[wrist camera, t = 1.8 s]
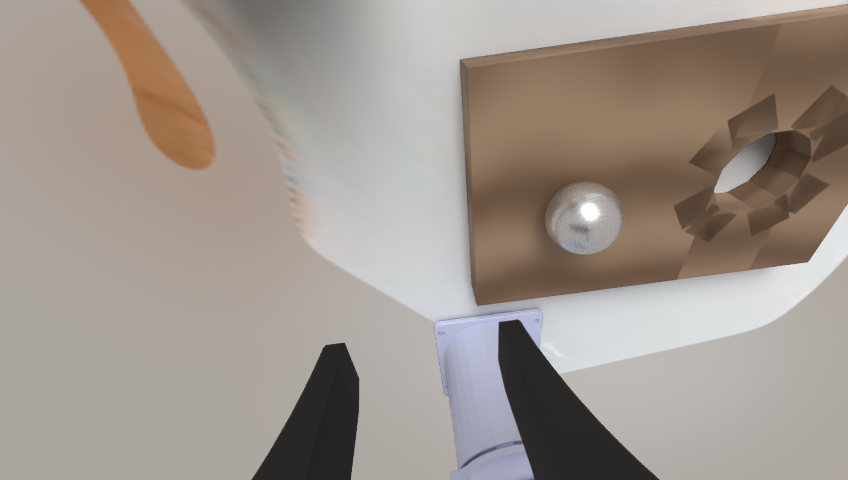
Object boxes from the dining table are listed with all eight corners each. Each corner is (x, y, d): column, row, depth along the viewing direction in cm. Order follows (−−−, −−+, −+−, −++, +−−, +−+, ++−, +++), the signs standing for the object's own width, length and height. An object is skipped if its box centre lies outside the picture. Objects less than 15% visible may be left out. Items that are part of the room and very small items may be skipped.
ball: (596, 223, 19) (631, 264, 17) (533, 232, 20) (556, 274, 17) (608, 164, 17) (650, 199, 15) (537, 174, 17) (565, 211, 15)
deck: (780, 243, 24) (808, 262, 22) (471, 284, 24) (477, 305, 23) (929, -8, 16) (990, -7, 14) (460, 59, 16) (467, 68, 14)
